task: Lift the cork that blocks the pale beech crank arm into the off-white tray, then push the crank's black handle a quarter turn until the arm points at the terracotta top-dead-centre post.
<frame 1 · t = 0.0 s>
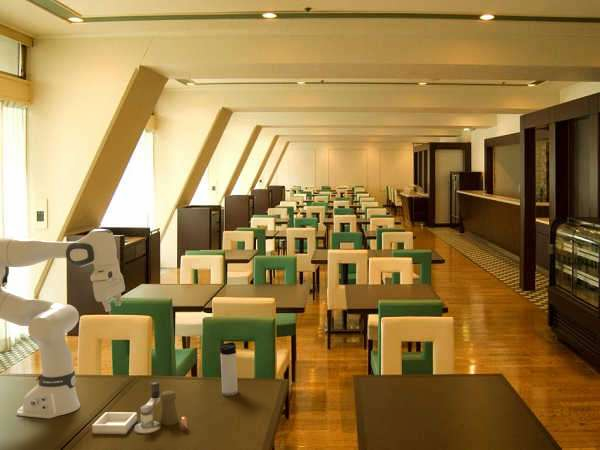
hand: (113, 308, 237), 39 cm above the table, tool pointing down, fingers open, 8 cm apart
tray: (115, 426, 224), on the table
crank stand: (147, 428, 222), on the table
crank: (150, 397, 226), point 9 cm above the table, hinge at 90.0°
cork: (169, 422, 227), on the table
travel mug: (230, 393, 254), on the table
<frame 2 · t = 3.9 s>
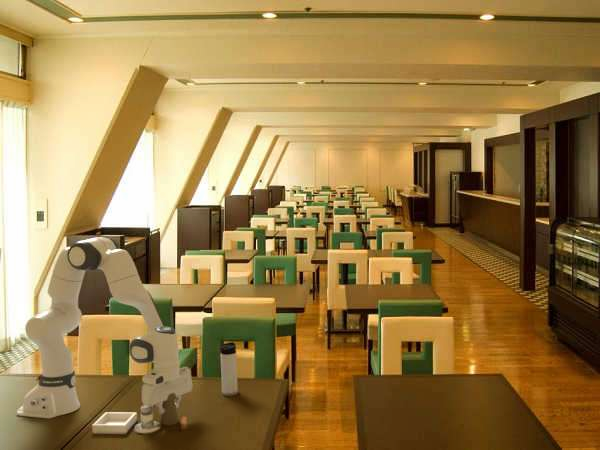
hand: (169, 410, 227), 4 cm above the table, tool pointing down, fingers closed on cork, 5 cm apart
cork: (169, 422, 227), on the table, touching gripper
everything else where it was.
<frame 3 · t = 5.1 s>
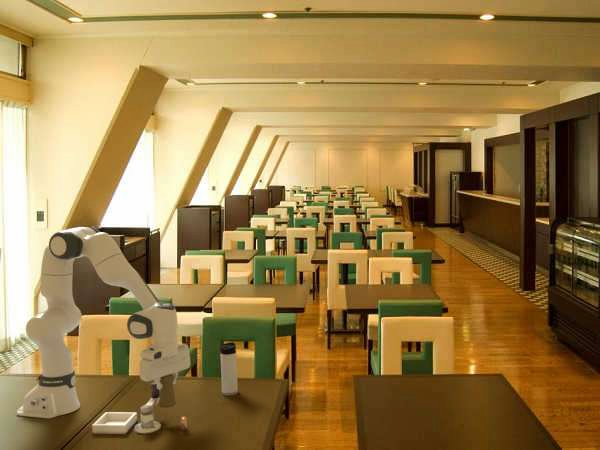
hand: (166, 386, 226), 13 cm above the table, tool pointing down, fingers closed on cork, 4 cm apart
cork: (167, 404, 227), point 6 cm above the table, touching gripper
everything else where it was.
when the fingers open (6 cm above the table, at t = 10.1 s): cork stays where it is, resting on tray.
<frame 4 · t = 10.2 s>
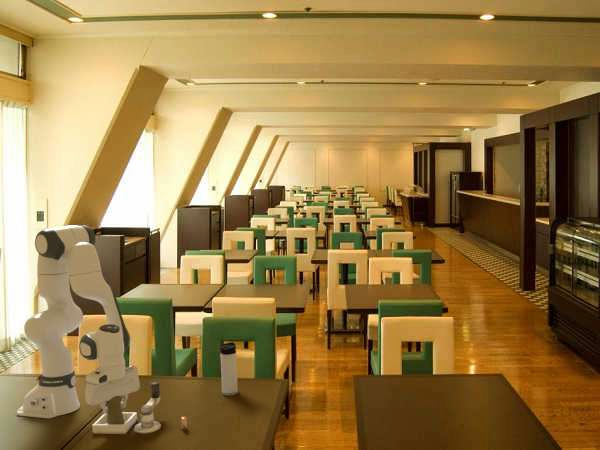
hand: (114, 410, 223), 6 cm above the table, tool pointing down, fingers open, 5 cm apart
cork: (116, 425, 224), point 1 cm above the table, touching gripper, tray
everything else where it was.
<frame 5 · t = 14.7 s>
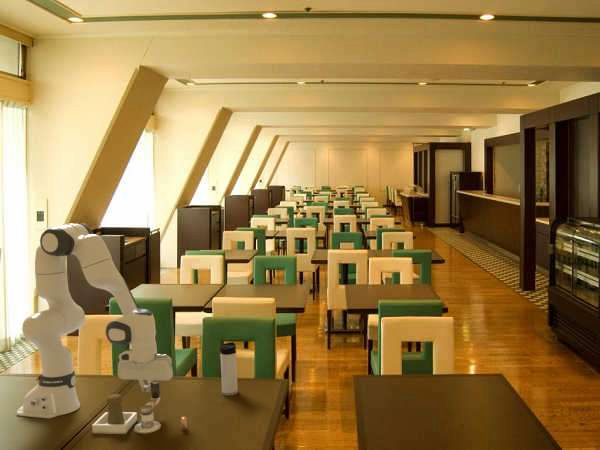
hand: (146, 391, 231), 10 cm above the table, tool pointing down, fingers closed
crank: (150, 397, 226), point 9 cm above the table, hinge at 89.9°, touching gripper
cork: (116, 426, 224), resting on tray
everything else where it was.
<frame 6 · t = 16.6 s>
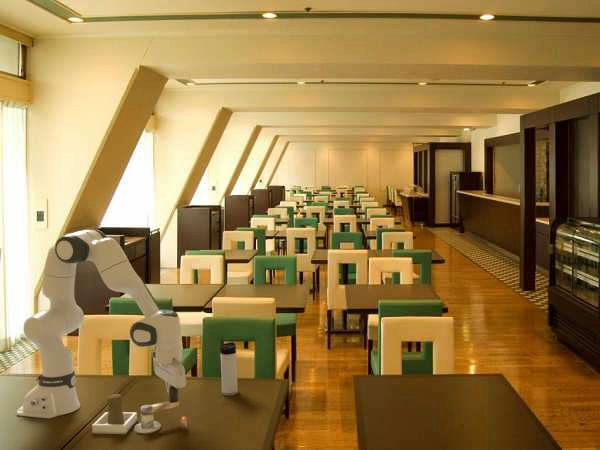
hand: (170, 393, 228), 10 cm above the table, tool pointing down, fingers closed
crank: (159, 400, 223), point 9 cm above the table, hinge at 36.3°, touching gripper
everything else where it was.
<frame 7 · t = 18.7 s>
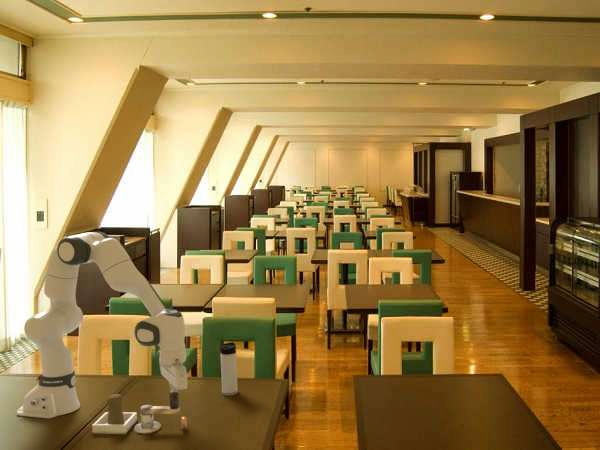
hand: (174, 394, 224), 11 cm above the table, tool pointing down, fingers closed
crank: (159, 403, 221), point 9 cm above the table, hinge at -0.8°
everything else where it was.
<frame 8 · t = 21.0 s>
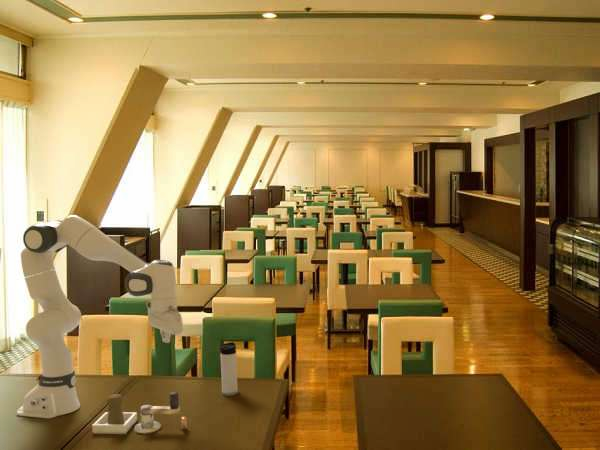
hand: (166, 342, 232), 27 cm above the table, tool pointing down, fingers closed
nothing on the table moved.
at the end: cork 0.6 cm off-centre on the tray, point 0.4 cm above the tray's base; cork tilted 0°; crank at -1° (first picture: +90°) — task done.
